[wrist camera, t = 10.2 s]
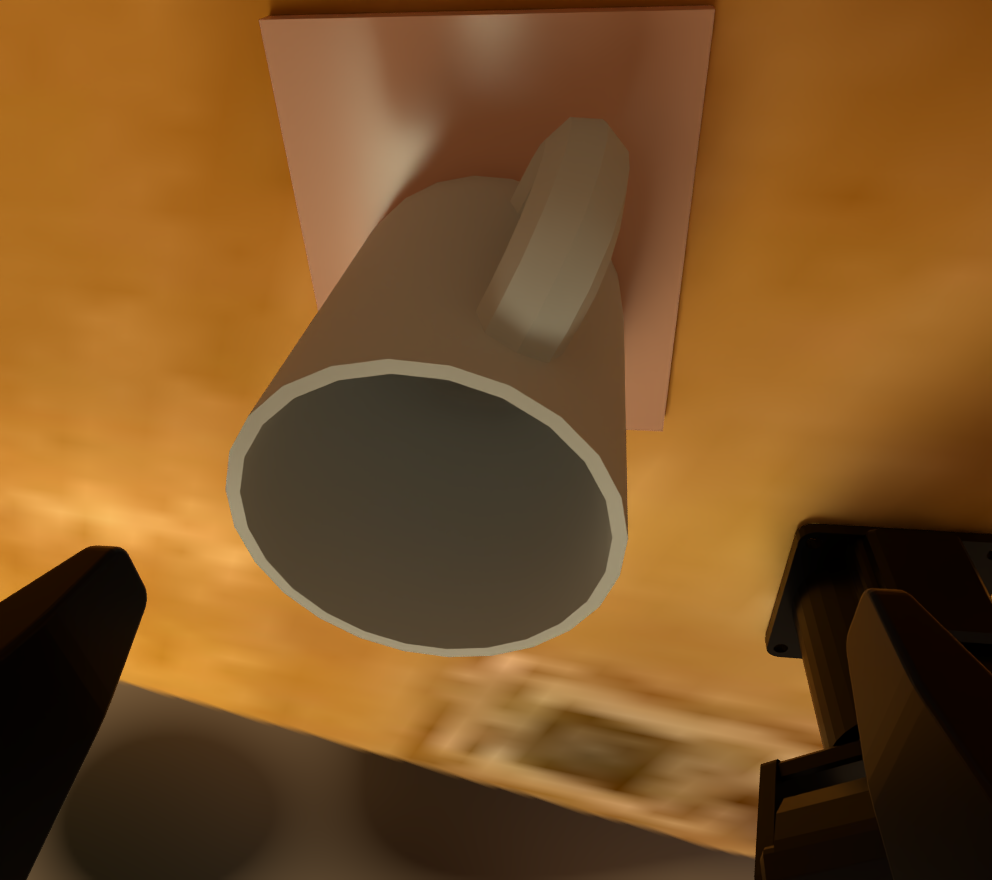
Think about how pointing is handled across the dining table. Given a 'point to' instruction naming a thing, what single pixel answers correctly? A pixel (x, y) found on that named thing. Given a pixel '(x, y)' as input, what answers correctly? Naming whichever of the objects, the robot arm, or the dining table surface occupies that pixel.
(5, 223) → the dining table surface
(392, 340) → the cup
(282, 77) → the coaster pad
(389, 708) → the dining table surface
